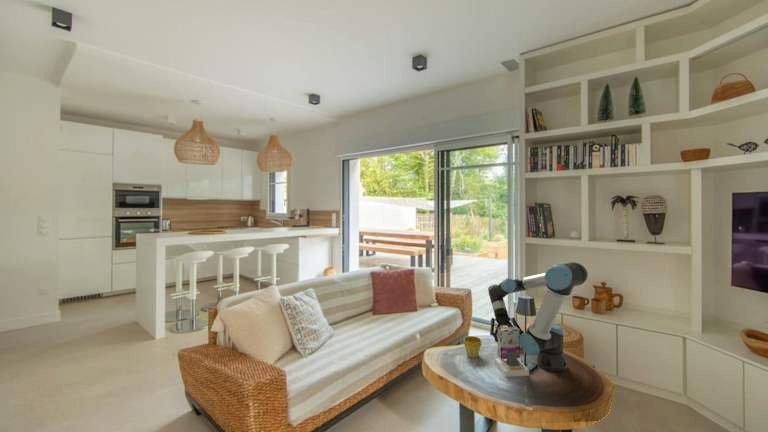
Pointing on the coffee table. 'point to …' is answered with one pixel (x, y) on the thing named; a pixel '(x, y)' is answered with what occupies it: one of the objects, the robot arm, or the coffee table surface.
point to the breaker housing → (511, 368)
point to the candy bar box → (508, 341)
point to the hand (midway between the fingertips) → (510, 347)
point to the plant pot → (472, 346)
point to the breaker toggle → (512, 358)
